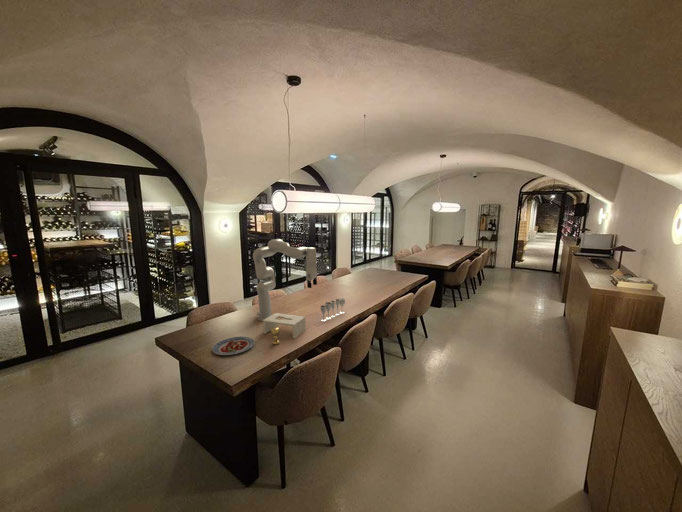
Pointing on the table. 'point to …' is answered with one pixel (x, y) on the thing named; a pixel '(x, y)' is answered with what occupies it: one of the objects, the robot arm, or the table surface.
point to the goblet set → (332, 304)
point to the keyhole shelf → (285, 323)
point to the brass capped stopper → (275, 335)
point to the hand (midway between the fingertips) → (312, 286)
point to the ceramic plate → (233, 345)
